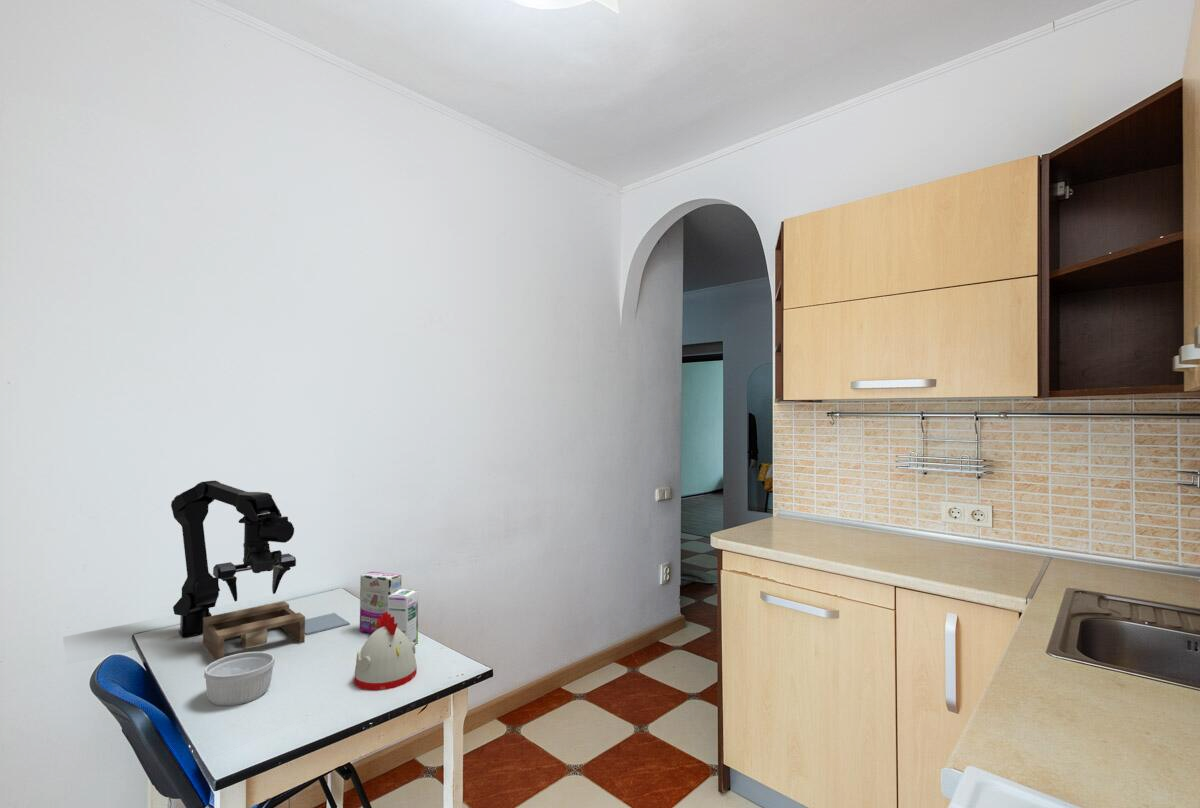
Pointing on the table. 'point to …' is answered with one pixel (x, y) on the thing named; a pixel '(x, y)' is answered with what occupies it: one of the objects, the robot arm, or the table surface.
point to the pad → (324, 623)
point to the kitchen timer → (385, 658)
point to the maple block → (254, 638)
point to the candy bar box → (375, 598)
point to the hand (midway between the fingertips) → (255, 597)
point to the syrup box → (405, 612)
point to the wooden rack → (250, 625)
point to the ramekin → (239, 678)
